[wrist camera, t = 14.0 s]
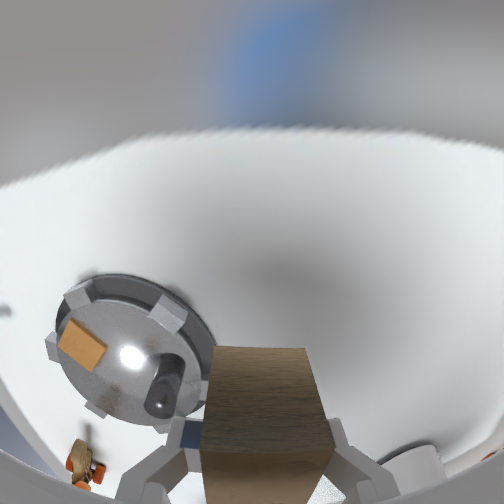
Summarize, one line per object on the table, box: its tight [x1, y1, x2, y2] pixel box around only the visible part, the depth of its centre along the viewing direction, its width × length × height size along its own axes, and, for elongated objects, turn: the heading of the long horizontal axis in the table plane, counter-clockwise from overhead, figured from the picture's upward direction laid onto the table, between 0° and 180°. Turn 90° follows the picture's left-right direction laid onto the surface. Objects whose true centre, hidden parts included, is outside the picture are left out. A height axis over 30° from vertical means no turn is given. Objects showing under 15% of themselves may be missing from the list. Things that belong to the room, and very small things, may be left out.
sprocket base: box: [56, 274, 216, 414], centre depth 28 cm, size 19×19×1 cm
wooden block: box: [199, 346, 335, 504], centre depth 9 cm, size 6×4×5 cm, turn 177°
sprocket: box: [45, 279, 210, 434], centre depth 23 cm, size 18×19×8 cm
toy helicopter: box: [66, 439, 105, 491], centre depth 28 cm, size 7×18×12 cm, turn 157°
